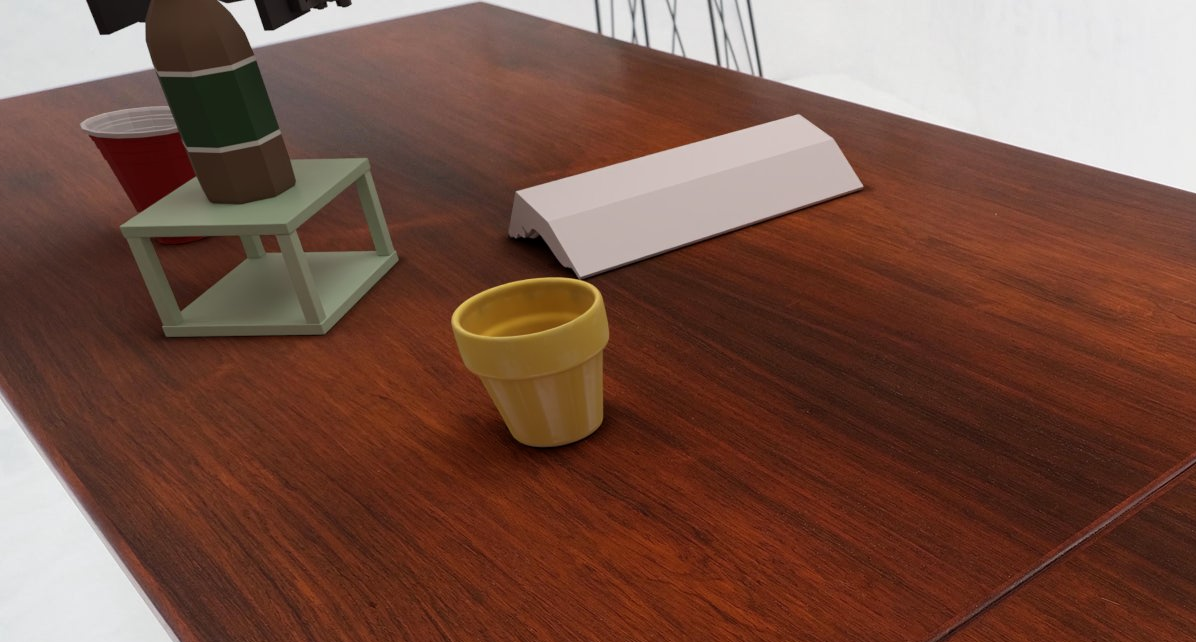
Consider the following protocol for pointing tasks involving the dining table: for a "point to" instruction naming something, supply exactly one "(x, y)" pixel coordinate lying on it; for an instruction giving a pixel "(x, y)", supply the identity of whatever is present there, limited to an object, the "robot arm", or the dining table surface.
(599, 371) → the flower pot
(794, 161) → the molding piece
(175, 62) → the beer bottle
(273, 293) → the rack
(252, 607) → the dining table surface
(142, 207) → the plastic cup
